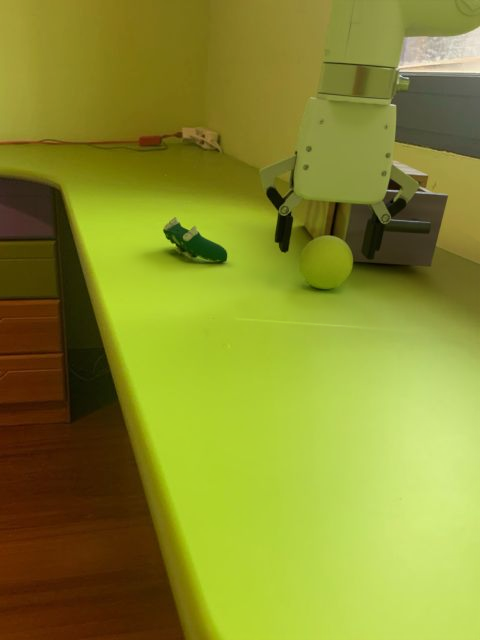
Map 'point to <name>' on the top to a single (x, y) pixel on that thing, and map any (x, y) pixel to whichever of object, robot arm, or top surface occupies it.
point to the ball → (326, 262)
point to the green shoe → (193, 242)
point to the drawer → (394, 228)
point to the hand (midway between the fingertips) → (324, 253)
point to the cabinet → (322, 211)
